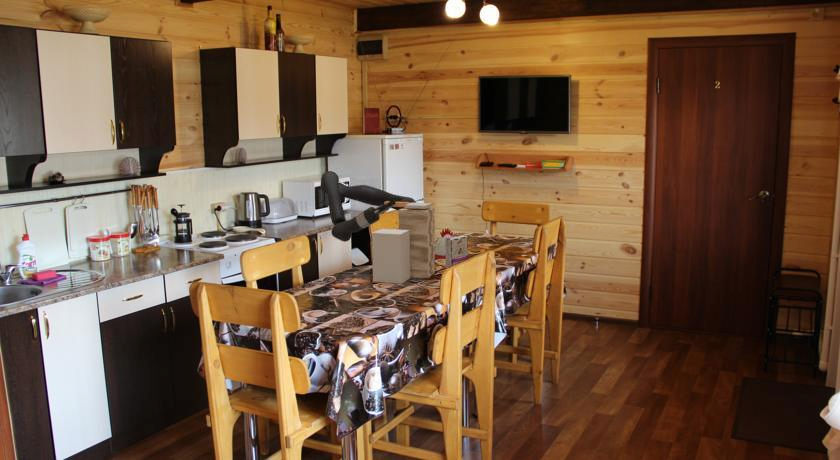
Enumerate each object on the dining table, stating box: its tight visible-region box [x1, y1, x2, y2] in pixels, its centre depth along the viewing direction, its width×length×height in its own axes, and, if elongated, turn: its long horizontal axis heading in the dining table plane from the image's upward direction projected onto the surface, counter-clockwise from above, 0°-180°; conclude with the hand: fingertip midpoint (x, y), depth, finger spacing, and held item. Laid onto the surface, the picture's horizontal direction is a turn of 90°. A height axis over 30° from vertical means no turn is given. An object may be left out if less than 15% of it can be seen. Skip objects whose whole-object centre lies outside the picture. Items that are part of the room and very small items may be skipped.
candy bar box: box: [445, 235, 469, 269], centre depth 367 cm, size 11×5×16 cm, turn 129°
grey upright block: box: [371, 228, 411, 285], centre depth 347 cm, size 12×14×23 cm
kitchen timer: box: [435, 227, 454, 260], centre depth 401 cm, size 14×14×15 cm
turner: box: [384, 201, 433, 209], centre depth 354 cm, size 9×22×2 cm, turn 70°
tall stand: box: [398, 207, 436, 279], centre depth 356 cm, size 11×14×32 cm
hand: (395, 201), depth 356 cm, fingers closed on turner, 2 cm apart
